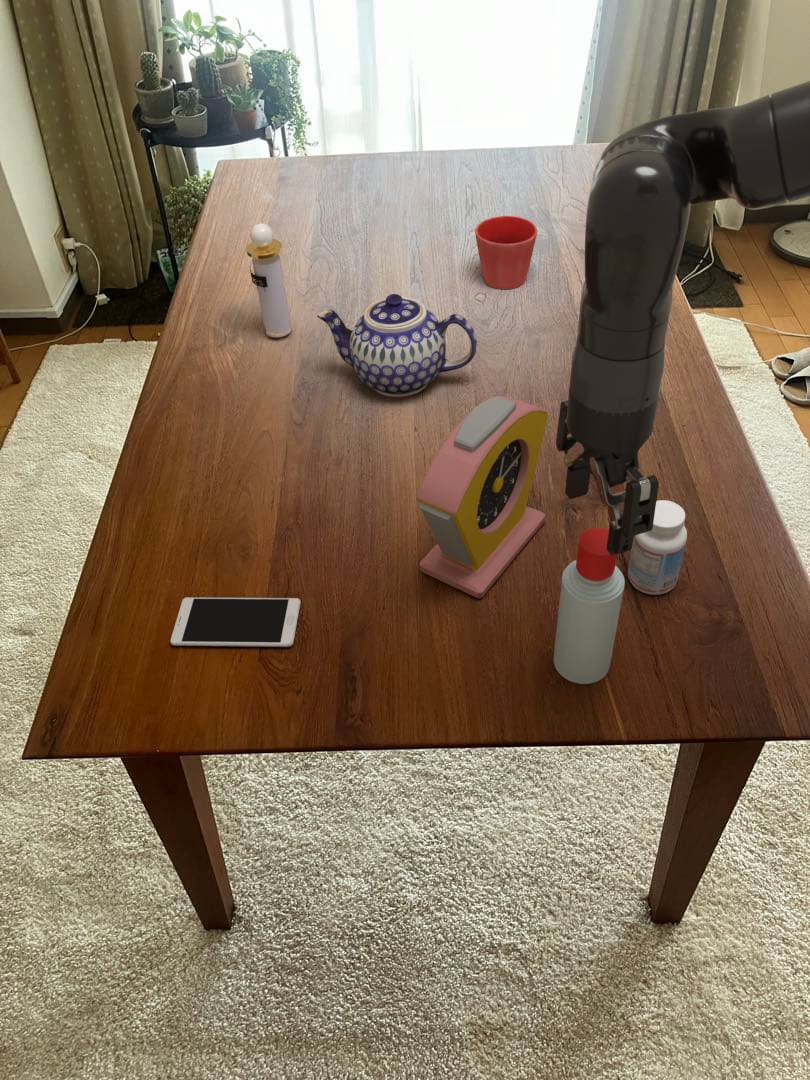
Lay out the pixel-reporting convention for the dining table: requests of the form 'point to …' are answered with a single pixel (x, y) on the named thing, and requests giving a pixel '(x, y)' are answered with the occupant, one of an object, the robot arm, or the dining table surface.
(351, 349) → the teapot
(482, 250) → the flower pot
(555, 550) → the dining table surface
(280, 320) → the perfume bottle
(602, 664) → the water bottle
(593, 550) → the cap
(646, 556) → the pill bottle
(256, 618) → the smartphone
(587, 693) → the dining table surface
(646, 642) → the dining table surface
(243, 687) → the dining table surface
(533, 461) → the pink desk clock
